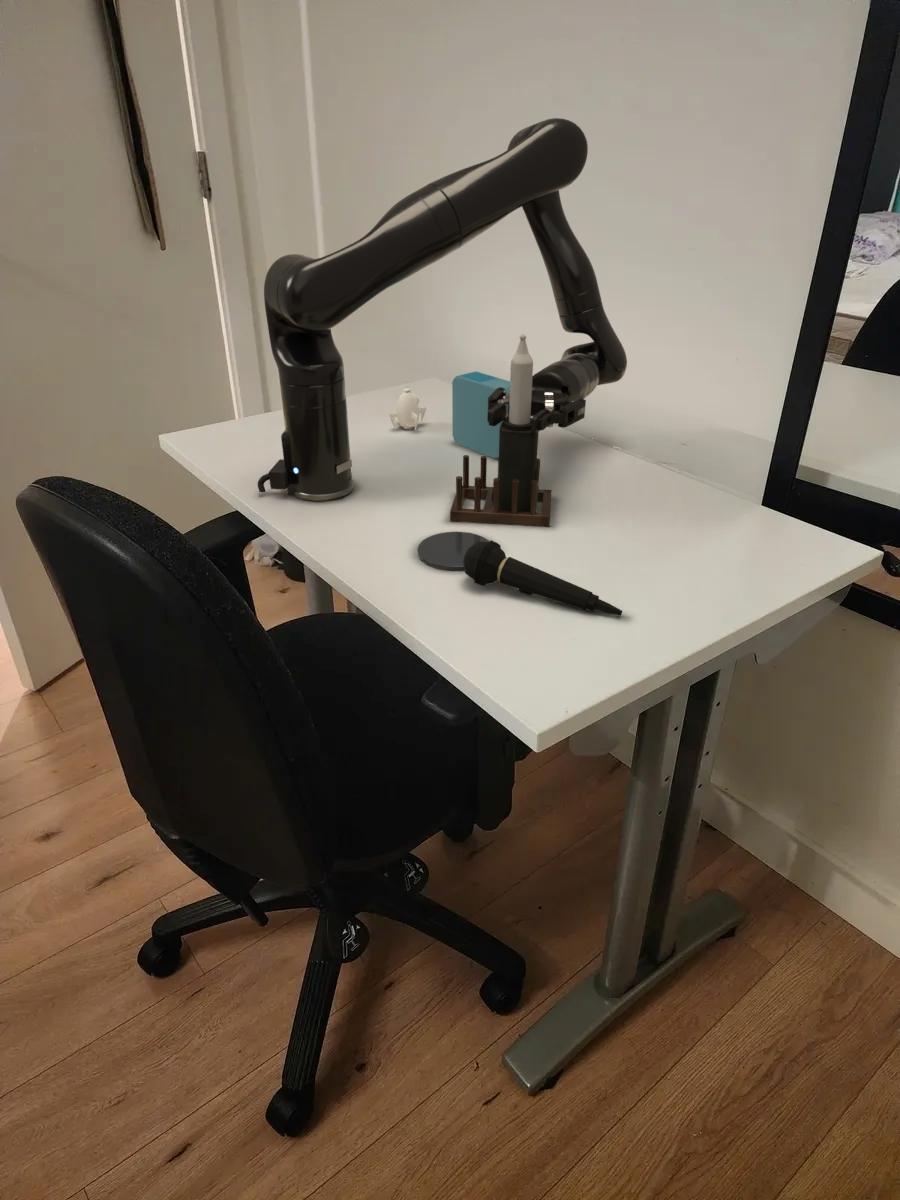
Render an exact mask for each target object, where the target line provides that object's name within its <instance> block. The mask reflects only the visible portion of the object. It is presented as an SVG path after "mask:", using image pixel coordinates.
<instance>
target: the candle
mask: <svg viewBox="0 0 900 1200" xmlns="http://www.w3.org/2000/svg"><path fill="white" fill-rule="evenodd" d="M519 339H520V340H519V343H518V346H517V349H516V352H515V354H514V355H513V356H512V358H511V360H510V375H509V376H510V379H509V381H510V405H509V417H507V418H505V419H504V421H503V422H502V424H501V427H500V429H499V464H498V463H497V478H499V479H500V497H499V510H503V511H511V504H512V480H513V479H518V480H519V492H518V511H522V512H530V500H531V481H532V480H536V470H537V458H538V450H539V449H538V448H539V432H540V431H539V432H538V433H531V420H532V417H531V396H532V376H533V375H534V373H533V372H534V359H533V358H532V356H531V354H530V353H529V349H528V345H527V341H526V339H527V335H526V334H525V333H521V334H520V335H519Z"/></svg>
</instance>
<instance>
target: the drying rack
mask: <svg viewBox="0 0 900 1200" xmlns="http://www.w3.org/2000/svg"><path fill="white" fill-rule="evenodd" d="M487 464H488V456H487V455H481V456H480V468H479V470H480V472H479V476H476V477H474V485H470V455H468V454H464V455H463V456H462V476H461V475H457V476H456V477H455V495H454V498H453V500H452V504H451V507H450V510H449V521H450V522H456V523H457V522H458V523H459V522H460V523H478V524H497V525H514V526H533V527H546V528H547V527H548V528H549V527H550V526H551V525H550V524H551V510H552V493H553V490H552V489H547V488H546V489H544V488H543V489H540V474H541V473H540V472H541V458H539V457H537V470H536V480H532V481H531V500H530V512H522V511H518V492H519V480H518V479H513V480H512V504H511V511H503V510H499V497H500V479H499V478H498V477H494V478H493V485H492V486H487V473H488V472H487V470H488V469H487V468H488V465H487ZM498 464H499V458H497V465H498ZM466 499H472V500H474V506H473V508H464V504H465V501H466ZM482 500H485V501H484V506H483V509H481V508H482ZM538 503H542V507H541V512H539V511H537V508H538V507H537V506H538Z"/></svg>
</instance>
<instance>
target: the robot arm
mask: <svg viewBox="0 0 900 1200" xmlns="http://www.w3.org/2000/svg"><path fill="white" fill-rule="evenodd" d="M588 149H589V145H588V140H587V137H586V135H585V133H584V131H583V130H582V128H581V127H580V126H579V125H577V123H575V122H573V121H572V120H569V119H566V118H561V117H554V118H553V117H552V118H548V119H544V120H542V121H539V122H536V123H534V124H531V125H529V126H526V127H524V128H522V129H520V130H518V131H517V132H516V133H515V134H514V135H513V137H512V138H511V139H510V141H509V144H508V146H507V149H506V150H505V151H504V152H502V153H500V154H499V155H497V156H495V157H492V158H490V159H488V160H485V161H482V162H479V163H476V164H473V165H470V166H467V167H465V168H462V169H459V170H457V171H455V172H452V173H449V174H447V175H445V176H443V177H440V178H438V179H436V180H433V181H431V182H429V183H428V184H426V185H424V186H422V187H420V188H419V189H417V190H415V191H413V192H412V193H410V194H407V195H406V196H405V197H403V198H402V199H401V200H399V201H397V202H396V203H395V204H394V205H392V207H390V208H389V209H388V210H387V212H386V213H385V214H384V215H383V216H382V217H381V218H380V219H379V220H378V222H376V224H375V225H374V226H373V227H372V228H371V229H370V230H369V232H367V233H366V234H365V235H364V236H362V237H361V238H359V239H357V240H356V241H354V242H353V243H350V244H349V245H347V246H344V247H342V248H340V249H338V250H336V251H334V252H331V253H329V254H326V255H324V256H322V257H319V258H314V257H310V256H308V255H304V254H298V253H292V254H285V255H283V256H281V257H279V258H277V259H276V260H275V261H274V262H273V263H272V264H271V265H270V267H269V268H268V269H267V272H266V275H265V277H264V278H265V279H264V282H263V283H264V284H263V299H264V310H265V317H266V323H267V330H268V336H269V337H268V338H269V344H270V349H271V353H272V356H273V360H274V362H275V364H276V367H277V371H278V380H279V388H280V397H281V406H282V413H283V422H284V431H283V432H282V433H281V435H280V439H281V448H282V457H283V459H278V461H276V463H275V464H274V465H273V467H271V469H270V470H269V471H268V473H264V474H263V475H262V476H260V477H259V478H258V480H257V489H258V492H259V493H265V492H266V488H265V483H266V482H267V481H269V487H270V489H271V490H282V491H283V490H287V491H286V492H287V496H294V497H296V498H298V499H302V500H305V501H312V502H313V501H315V502H321V501H322V502H324V501H331V500H337V499H340V498H342V497H345V496H347V495H349V494H350V493H351V492H352V491H353V489H354V480H353V473H352V468H353V460H352V459H351V446H350V435H349V434H350V433H349V419H348V417H349V416H348V403H347V392H346V378H345V363H344V359H343V356H342V354H341V352H340V351H339V350H338V347H337V345H336V343H335V340H334V338H333V337H334V336H333V334H332V333H333V332H332V328H334V327H336V326H337V325H339V324H340V323H342V322H343V321H344V320H346V319H348V317H350V316H352V315H353V313H355V312H356V311H358V310H359V309H360V308H361V307H363V306H364V305H365V304H367V303H368V302H370V301H371V300H372V299H373V298H375V297H376V296H378V295H379V294H380V293H382V292H384V291H385V290H387V289H389V288H390V287H392V286H394V285H396V284H398V283H400V282H401V281H403V280H405V279H407V278H409V277H411V276H413V275H414V274H415V273H418V272H419V271H421V270H423V269H424V268H426V267H428V266H431V265H433V264H434V263H436V262H438V261H440V260H441V259H443V258H444V257H445V258H446V257H447V256H449V255H450V254H452V253H454V252H455V251H457V250H458V249H460V248H462V247H463V246H465V245H466V244H468V243H469V242H471V241H472V240H474V239H475V238H477V237H479V236H480V235H482V234H483V233H484V232H486V231H487V230H489V229H490V228H492V227H493V226H494V225H496V224H498V223H499V222H500V221H501V220H503V219H504V218H506V217H508V215H510V214H511V213H513V212H515V211H517V210H518V209H520V208H522V211H523V214H524V215H525V218H526V220H527V223H528V225H529V227H530V230H531V233H532V234H533V237H534V240H535V242H536V245H537V247H538V249H539V253H540V255H541V258H542V260H543V263H544V266H545V270H546V271H547V272H546V273H547V276H548V279H549V283H550V286H551V291H552V294H553V298H554V302H555V306H556V309H557V313H558V317H559V320H560V325H561V327H562V329H563V330H564V331H565V333H569V334H582V335H583V334H584V335H587V336H588V337H589V338H590V339H591V340H592V341H590V342H585V343H581V344H577V345H574V346H573V345H572V346H571V347H568V348H567V349H565V350H564V351H563V353H562V355H561V358H560V359H559V360H558V361H555V362H553V363H550V364H549V365H547V366H545V367H544V368H543V369H541V370H539V371H538V372H536V373H534V374H533V375H532V396H531V418H532V420H531V433H538V432H541V431H544V430H546V428H552V427H554V425H557V427H558V428H561V429H564V428H567V427H569V426H571V425H573V424H576V423H577V422H579V421H581V420H583V419H585V417H586V405H587V403H586V402H587V399H586V398H587V397H589V396H590V395H591V394H592V393H593V392H594V390H595V389H596V388H597V386H602V385H607V384H613V383H616V382H619V381H620V380H622V379H623V377H624V376H625V375H626V371H627V367H628V359H627V358H628V357H627V354H626V350H625V349H624V346H623V344H622V342H621V341H620V338H619V337H618V335H617V333H616V332H615V329H614V328H613V326H612V324H611V321H610V320H609V318H608V315H607V313H606V310H605V308H604V305H603V301H602V296H601V293H600V287H599V284H598V279H597V276H596V271H595V270H594V266H593V264H592V262H591V260H590V258H589V255H587V253H586V251H585V250H584V248H583V246H582V245H581V243H580V242H579V240H578V238H577V236H576V234H575V233H574V231H573V229H572V228H571V226H570V223H569V222H568V219H567V217H566V214H565V211H564V208H563V204H562V200H561V196H560V195H561V193H560V191H561V190H563V189H565V188H566V189H567V187H569V186H570V185H572V184H573V183H574V182H575V181H576V180H577V179H578V178H579V177H580V175H581V173H582V172H583V169H584V167H585V166H586V162H587V159H588V153H589V150H588ZM506 405H508V411H507V412H506ZM509 405H510V394H507V393H506V391H505V388H502V387H499V388H497V389H496V390H495V391H494V392H493V393H492V394H491V395H490V396H489V397H488V416H487V422H489V425H490V426H496V425H497V424H499V423H500V422H502V421H503V420H504V419H505V418H507V417H509ZM538 434H539V433H538Z"/></svg>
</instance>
